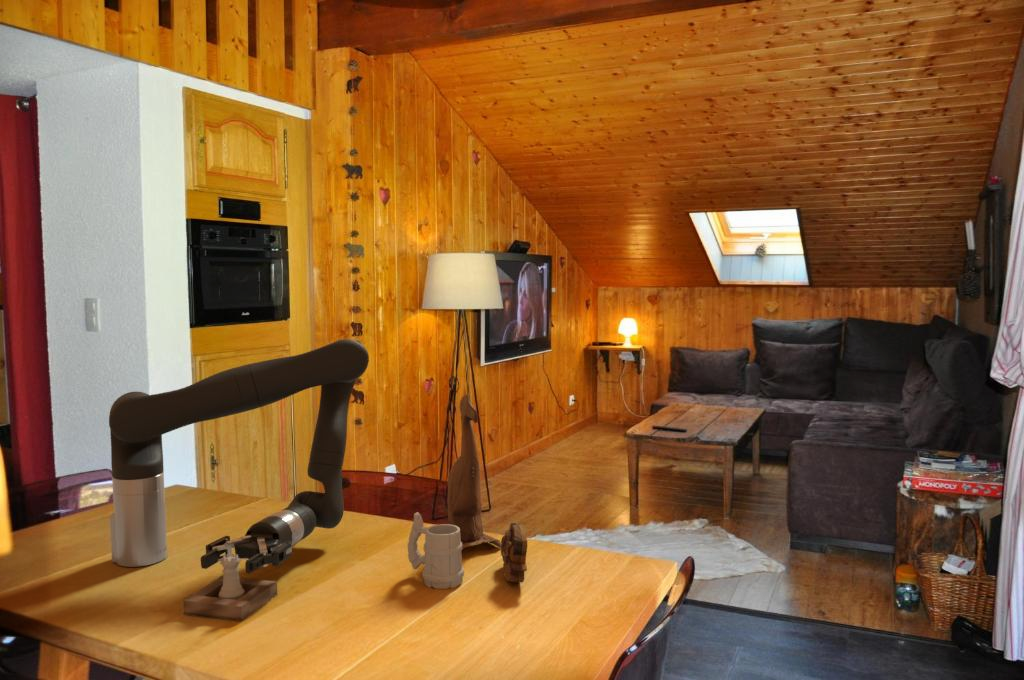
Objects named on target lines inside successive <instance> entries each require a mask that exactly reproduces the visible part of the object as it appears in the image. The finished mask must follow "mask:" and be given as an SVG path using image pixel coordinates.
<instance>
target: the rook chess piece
mask: <svg viewBox="0 0 1024 680" xmlns="http://www.w3.org/2000/svg"><path fill="white" fill-rule="evenodd" d="M235 555H236V554H235V553H232V556H230V554H227V557H226V556H224V555H222V556H223V560H222V561H220V565H221V566H222V567H223V569H222V574H223V576H224V579H223V586H222V588H221V591H220V592H219V597H220V598H225V599H234V600H238V599H239V598H240V597H242V596H243V595H244V594H245V591H244V589H243V588H242V585H241V584H240V581H239V578H240V576H239V571H240V568H239V564H240V563H241V560H242V559H239V558H238V555H236V557H235Z"/></svg>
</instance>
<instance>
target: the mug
mask: <svg viewBox="0 0 1024 680" xmlns="http://www.w3.org/2000/svg"><path fill="white" fill-rule="evenodd" d="M422 534H423V535H424V536H425V537H424V538H425V539H424V543H423V552H424V555H422V554H421V552H420V551H419V549H418V540H419V539H420V537H421V535H422ZM461 550H463V549H462V542H461V537H460V528H459V527H457V526H455V525H450V524H448V523H445V524H444V523H441V524H433V525H430V526H428V527H427V526H424V520H423V517H422V515H421V513H420V512H418V511H417V512H415V513H414V514H413V522H412V526H411V530H410V532H409V537H408V542H407V557H408V560H409V563H410V564H411V566H412V567H411V568H412V569H413V570H417V569H419V568H420V567H421V565H424V568H423V569H422V578H423V580H424V581H423V582H424V585H425V586H426V587H429V588H434V589H441V590H443V589H444V590H445V589H453V588H456V587H458V586H460V585H461V584H462V583H463V577H464V576H465V568H464V567H463V560H462V551H461Z"/></svg>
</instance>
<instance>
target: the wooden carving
mask: <svg viewBox="0 0 1024 680" xmlns="http://www.w3.org/2000/svg"><path fill="white" fill-rule="evenodd" d="M500 542H501V548H500V554H501V557H502V561H503V564H502V565H503V575H504V579H505V580H506V582H515V583H524V581H525V572H527V570H528V568H527V567H528V565H527V564H526V558H527V552H528V540H527V533H526V528H525V526H524V525H523V524H521V523H520V522H511V523H510V526H509V530H505V533H504V535H503V536H502V538H501V540H500Z"/></svg>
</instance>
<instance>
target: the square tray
mask: <svg viewBox="0 0 1024 680" xmlns="http://www.w3.org/2000/svg"><path fill="white" fill-rule="evenodd" d="M223 579H224V575H220V576H219V577H218V578H216V579H215V580H213V581H211V582H210V583H208V584H207V585H205V586H204V587H202V588H200V589H199V590H197V591H195V592H193V593H192V594H190V595H189V596H187V597H186V598H184V599H182V607H183V608H182V609H183V611H182V612H183V616H193V617H201V618H207V619H208V618H210V619H216V620H217V619H218V620H226V621H234V622H235V621H236V622H243V621H245V620H246V619H248V618H249V617H250V616H251V615H253V614H255V612H258V610H260V609H261V608H262V607H264V606H265V605H266V604H268V603H269V602H270V601H271V599H272V598H273V599H275V598H276V597H277V596H278V581H275V580H268V579H267V580H265V579H257V578H247V577H239V581H240V584H241V585H242V588H243V589H244V591H245V594H244V595H243V596H242V597H240V598H239V599H238V600H234V599H225V598H220V597H219V592H220V591H221V588H222V586H223ZM276 595H277V596H276ZM275 596H276V597H275ZM273 599H272V600H273ZM268 601H269V602H268ZM267 602H268V603H267ZM263 605H264V606H263Z"/></svg>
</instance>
